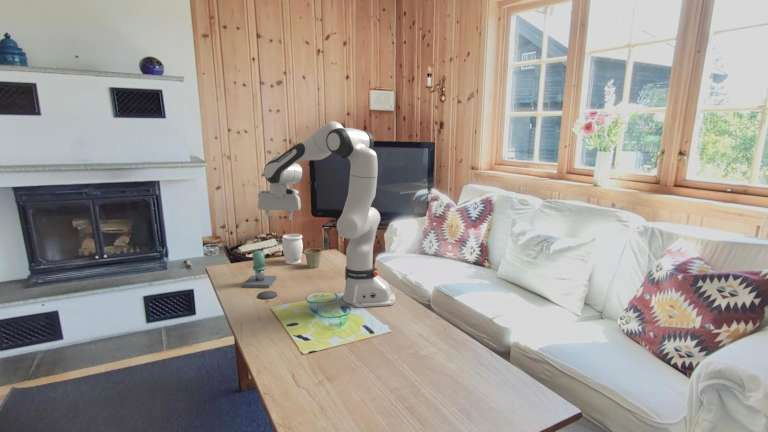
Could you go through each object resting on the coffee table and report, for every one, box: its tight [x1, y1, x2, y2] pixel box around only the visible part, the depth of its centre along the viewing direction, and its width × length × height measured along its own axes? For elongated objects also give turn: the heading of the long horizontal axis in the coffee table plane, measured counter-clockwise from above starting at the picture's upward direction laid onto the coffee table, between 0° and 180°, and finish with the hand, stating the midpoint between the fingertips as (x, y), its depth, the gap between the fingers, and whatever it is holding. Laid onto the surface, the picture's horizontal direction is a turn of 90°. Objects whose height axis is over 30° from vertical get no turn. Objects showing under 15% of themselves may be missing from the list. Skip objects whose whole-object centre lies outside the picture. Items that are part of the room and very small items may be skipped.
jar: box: [282, 233, 304, 266], centre depth 225 cm, size 11×10×15 cm
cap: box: [252, 250, 267, 272], centre depth 193 cm, size 6×6×8 cm
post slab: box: [242, 274, 277, 289], centre depth 195 cm, size 12×12×2 cm
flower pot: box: [303, 247, 323, 269], centre depth 220 cm, size 9×9×9 cm
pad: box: [257, 290, 278, 300], centre depth 181 cm, size 8×8×1 cm
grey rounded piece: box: [254, 270, 265, 281], centre depth 195 cm, size 4×6×6 cm, turn 179°
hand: (279, 219), depth 200 cm, fingers open, 8 cm apart
